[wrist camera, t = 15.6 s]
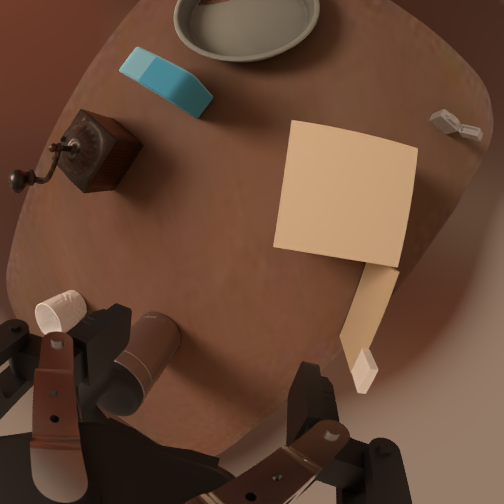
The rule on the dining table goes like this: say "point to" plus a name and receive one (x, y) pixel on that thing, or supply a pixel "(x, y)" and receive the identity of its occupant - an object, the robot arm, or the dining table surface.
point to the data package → (167, 81)
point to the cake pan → (244, 27)
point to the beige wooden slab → (366, 321)
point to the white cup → (61, 312)
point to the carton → (345, 194)
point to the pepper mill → (87, 155)
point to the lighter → (454, 125)
